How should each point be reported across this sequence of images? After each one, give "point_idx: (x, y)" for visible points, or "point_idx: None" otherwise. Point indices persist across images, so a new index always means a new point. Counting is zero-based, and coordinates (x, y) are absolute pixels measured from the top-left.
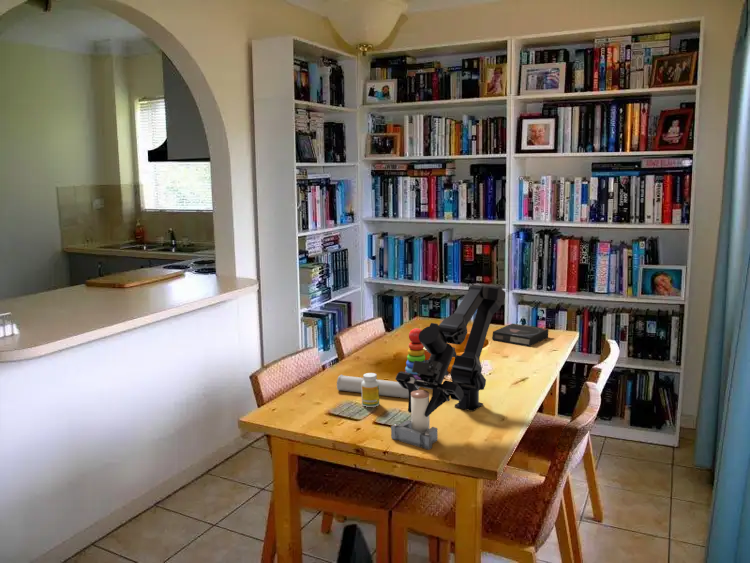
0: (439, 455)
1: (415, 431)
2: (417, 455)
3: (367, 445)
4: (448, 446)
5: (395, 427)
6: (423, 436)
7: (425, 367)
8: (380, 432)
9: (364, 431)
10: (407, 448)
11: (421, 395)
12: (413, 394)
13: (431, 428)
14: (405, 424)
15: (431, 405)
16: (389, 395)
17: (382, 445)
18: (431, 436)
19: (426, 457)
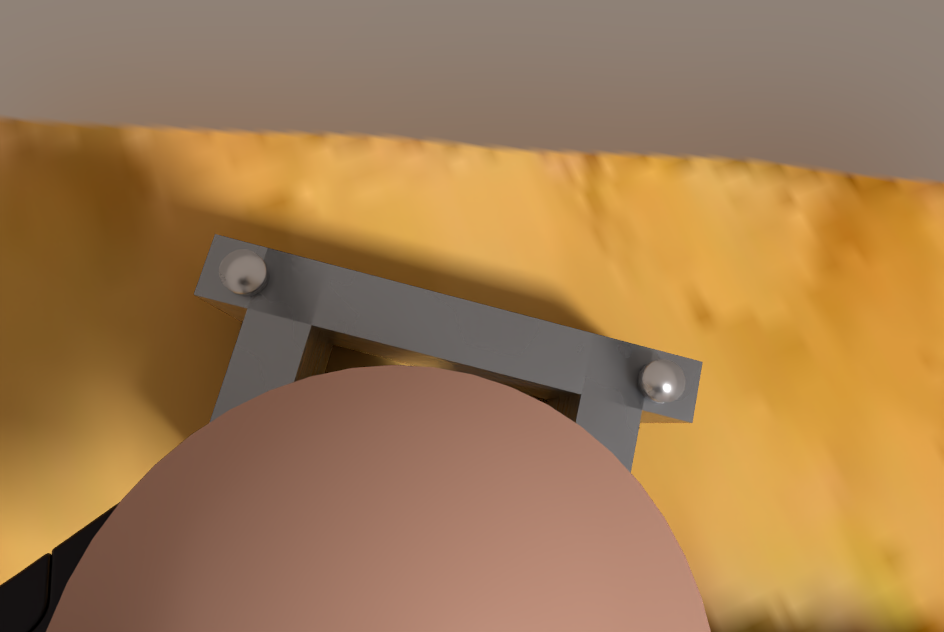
0: (136, 204)
1: (401, 322)
2: (317, 147)
3: (758, 186)
4: (97, 405)
5: (645, 347)
6: (284, 253)
7: None
8: (791, 463)
9: (921, 429)
10: (441, 240)
11: (257, 479)
12: (557, 473)
13: None
14: None
15: (88, 525)
16: None
17: (653, 224)
18: (201, 287)
19: (234, 137)
